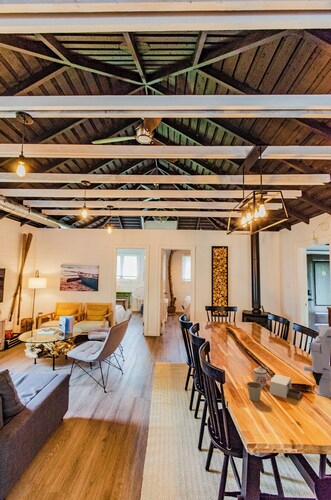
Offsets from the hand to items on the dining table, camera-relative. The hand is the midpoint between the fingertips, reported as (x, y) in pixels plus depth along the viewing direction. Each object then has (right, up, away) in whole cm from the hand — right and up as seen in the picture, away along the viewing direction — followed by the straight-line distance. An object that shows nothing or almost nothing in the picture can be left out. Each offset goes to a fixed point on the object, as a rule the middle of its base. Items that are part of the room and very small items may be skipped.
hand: (317, 384), depth 163 cm
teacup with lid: (-26, -11, +23) cm, 37 cm away
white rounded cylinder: (-15, -10, +12) cm, 21 cm away
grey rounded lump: (-17, -10, +9) cm, 21 cm away
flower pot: (-39, -10, +1) cm, 40 cm away
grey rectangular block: (-18, -10, +11) cm, 24 cm away
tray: (-14, -11, +9) cm, 20 cm away
